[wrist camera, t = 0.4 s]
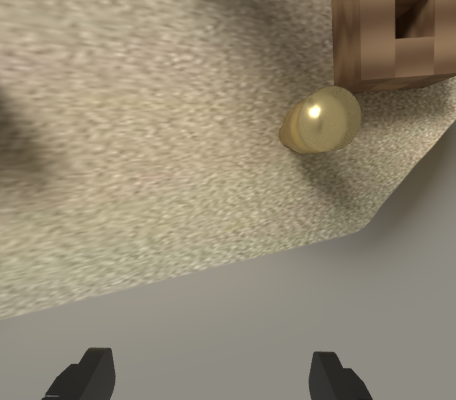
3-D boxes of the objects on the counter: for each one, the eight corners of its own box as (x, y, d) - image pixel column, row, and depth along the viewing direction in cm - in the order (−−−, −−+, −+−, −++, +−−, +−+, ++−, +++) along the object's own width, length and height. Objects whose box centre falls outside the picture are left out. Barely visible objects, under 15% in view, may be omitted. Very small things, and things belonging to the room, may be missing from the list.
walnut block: (330, -12, 33) (358, -51, 27) (424, -16, 34) (470, -54, 28) (334, 94, 35) (361, 80, 29) (422, 87, 36) (465, 72, 30)
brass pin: (268, 114, 35) (300, 88, 23) (309, 110, 35) (360, 83, 24) (271, 157, 35) (304, 153, 24) (311, 153, 36) (362, 147, 25)
